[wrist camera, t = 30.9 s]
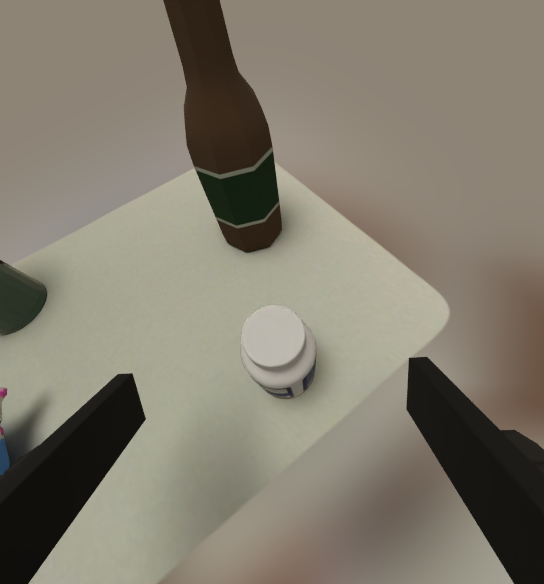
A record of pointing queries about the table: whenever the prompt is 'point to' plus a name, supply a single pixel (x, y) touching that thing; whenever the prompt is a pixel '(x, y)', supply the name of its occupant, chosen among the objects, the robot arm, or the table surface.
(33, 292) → the cup
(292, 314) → the pill bottle
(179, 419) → the table surface
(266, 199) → the beer bottle
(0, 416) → the blue mole toy
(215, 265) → the table surface
